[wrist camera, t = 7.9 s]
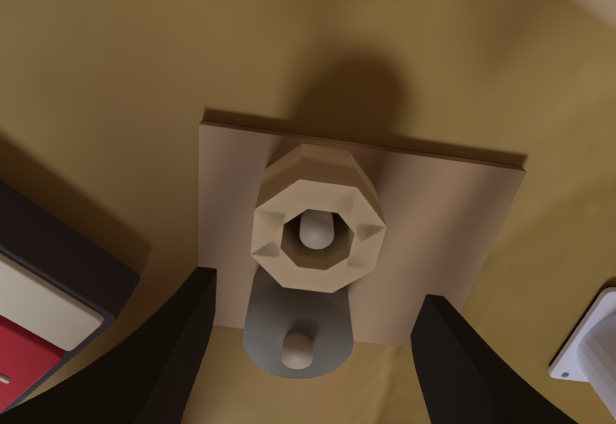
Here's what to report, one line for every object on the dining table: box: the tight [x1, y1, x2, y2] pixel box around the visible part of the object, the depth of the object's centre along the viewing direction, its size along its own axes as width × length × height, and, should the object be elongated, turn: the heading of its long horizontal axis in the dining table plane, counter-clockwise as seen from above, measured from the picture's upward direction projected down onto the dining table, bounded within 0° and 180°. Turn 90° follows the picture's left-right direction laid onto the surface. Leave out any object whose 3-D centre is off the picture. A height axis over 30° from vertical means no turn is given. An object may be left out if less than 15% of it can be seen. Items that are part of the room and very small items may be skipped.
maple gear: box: [250, 143, 387, 293], centre depth 18 cm, size 6×6×4 cm
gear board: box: [198, 120, 526, 379], centre depth 20 cm, size 16×13×6 cm
